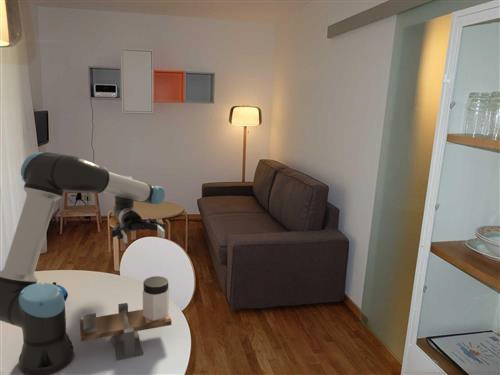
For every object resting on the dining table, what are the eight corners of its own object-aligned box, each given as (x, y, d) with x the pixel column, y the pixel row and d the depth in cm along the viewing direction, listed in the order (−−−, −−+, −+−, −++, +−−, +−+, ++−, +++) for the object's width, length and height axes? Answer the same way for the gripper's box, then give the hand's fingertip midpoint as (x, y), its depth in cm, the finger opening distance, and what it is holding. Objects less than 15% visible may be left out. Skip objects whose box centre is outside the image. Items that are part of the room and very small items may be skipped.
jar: (146, 323, 132) (146, 289, 130) (139, 311, 139) (138, 279, 136) (172, 316, 137) (173, 284, 134) (164, 305, 144) (164, 274, 141)
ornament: (59, 313, 150) (57, 289, 147) (38, 310, 151) (36, 286, 149) (73, 302, 158) (71, 278, 155) (52, 299, 159) (51, 275, 157)
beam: (80, 344, 123) (80, 333, 122) (79, 322, 135) (79, 311, 134) (172, 328, 134) (172, 317, 133) (164, 308, 146) (164, 298, 145)
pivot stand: (116, 360, 126) (115, 335, 124) (111, 328, 142) (110, 305, 140) (143, 355, 129) (142, 330, 127) (135, 323, 145) (134, 301, 143)
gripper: (160, 224, 171) (178, 241, 154) (98, 232, 159) (110, 252, 141) (160, 207, 170) (178, 222, 152) (97, 214, 157) (109, 231, 139)
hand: (145, 237), depth 147 cm, fingers open, 13 cm apart
